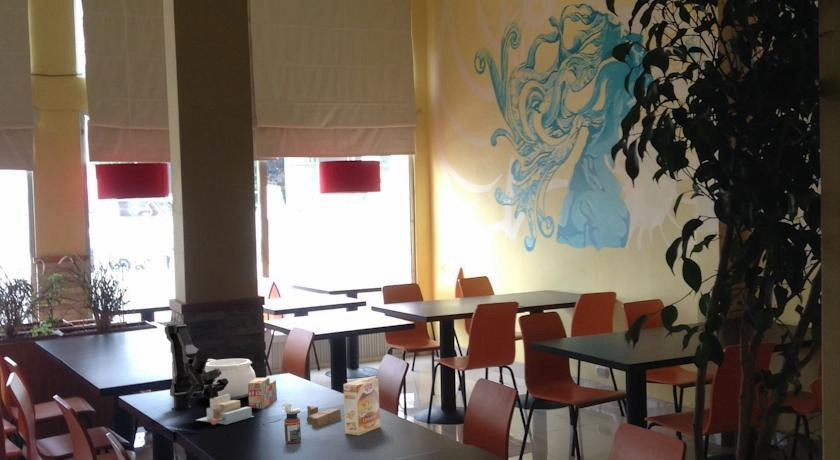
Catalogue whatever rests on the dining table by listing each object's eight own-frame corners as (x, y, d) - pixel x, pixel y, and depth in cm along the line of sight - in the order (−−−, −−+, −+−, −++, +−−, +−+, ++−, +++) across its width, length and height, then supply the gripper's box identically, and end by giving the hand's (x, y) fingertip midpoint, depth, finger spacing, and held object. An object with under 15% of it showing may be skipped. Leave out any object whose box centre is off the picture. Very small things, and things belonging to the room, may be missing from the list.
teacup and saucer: (302, 412, 379) (302, 402, 379) (292, 416, 372) (292, 406, 371) (285, 410, 382) (285, 401, 382) (275, 414, 375) (275, 405, 375)
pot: (269, 392, 424) (268, 358, 423) (231, 403, 401) (229, 367, 401) (227, 388, 439) (225, 355, 439) (187, 399, 417) (186, 363, 417)
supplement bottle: (285, 440, 328) (284, 411, 327) (301, 439, 328) (300, 410, 328) (284, 444, 322) (283, 414, 322) (300, 443, 322) (299, 413, 322)
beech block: (218, 420, 363) (217, 404, 362) (234, 416, 370) (233, 399, 370) (224, 421, 360) (224, 404, 360) (240, 416, 368) (240, 400, 368)
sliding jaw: (207, 420, 363) (206, 399, 363) (232, 413, 374) (231, 393, 374) (213, 421, 361) (212, 400, 360) (238, 414, 372) (237, 394, 372)
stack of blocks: (264, 399, 408) (263, 373, 408) (277, 399, 407) (276, 373, 407) (248, 409, 387) (247, 382, 387) (262, 409, 386) (260, 382, 386)
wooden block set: (341, 406, 361) (317, 415, 345) (342, 419, 361) (318, 429, 345) (308, 403, 369) (283, 412, 353) (309, 416, 369) (284, 426, 353)
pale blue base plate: (184, 425, 361) (183, 413, 361) (224, 414, 379) (223, 403, 379) (214, 430, 350) (214, 417, 350) (254, 418, 368) (253, 406, 368)
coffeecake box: (359, 435, 330) (356, 385, 330) (344, 433, 334) (342, 384, 334) (381, 426, 343) (379, 378, 343) (366, 425, 347) (364, 377, 347)
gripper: (191, 366, 364) (209, 394, 358) (224, 359, 379) (243, 386, 373) (179, 383, 369) (198, 411, 362) (213, 376, 384) (231, 403, 377)
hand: (218, 402), depth 369 cm, fingers closed, pressing on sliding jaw
